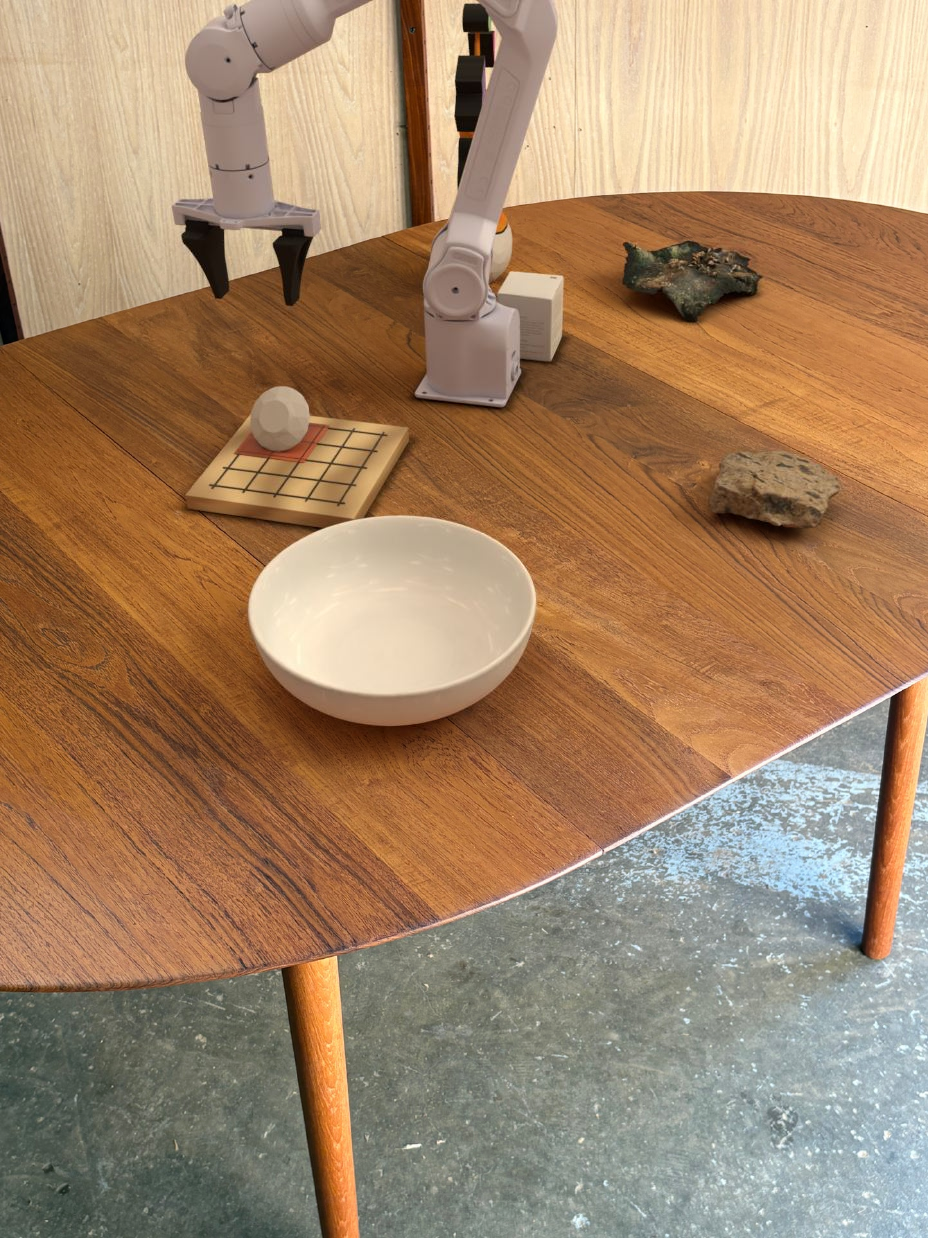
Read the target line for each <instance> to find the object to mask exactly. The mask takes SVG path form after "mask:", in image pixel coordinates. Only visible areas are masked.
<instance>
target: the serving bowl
mask: <svg viewBox="0 0 928 1238" xmlns="http://www.w3.org/2000/svg"><path fill="white" fill-rule="evenodd" d="M536 591H537V590H536V588H535V585H534V581H533V578H532V576H531V574H530V572H529V570H527V567H526V566H525V565H524V564H523V562H522V561H521V560H520V559H519V558H518V557H517V555H516V554H515V553H514V552H513V551H512V550H510V549H509V548H508V547H506V546H505V545H504V544H503V543H501V542H500V541H498V540H496V539H495V538H493V537H492V536H490V535H488V534H486V533H484V532H482V531H479V530H477V529H474V528H472V527H470V526H468V525H464V524H461V523H457V522H454V521H450V520H445V519H440V518H436V517H429V516H418V515H382V516H371V517H364V518H363V519H357V520H352V521H348V522H344V523H340V524H336V525H333V526H330V527H327V528H320V529H319V530H316V531H314V532H311V533H310V534H307V535H306V536H304V537H302V538H300V539H299V540H297V541H295V542H293V543H292V544H290V545H289V546H287V547H286V548H284V549H283V550H282V551H280V552H279V553H278V554H277V555H276V556H275V557H273V559H271V560H270V561H269V562H268V563H267V565H265V567H263V569H262V571H261V572H260V573H259V575H258V576H257V577H256V580H255V581H254V583H253V586H252V588H251V590H250V594H249V597H248V602H247V619H248V625H249V629H250V633H251V637H252V638H253V641H254V644H255V647H256V649H257V651H258V653H259V656H260V658H261V659H262V661H263V662H264V664H265V666H266V668H267V670H268V671H269V672H270V673H271V675H272V676H273V677H274V678H275V680H276V681H277V682H278V683H279V684H280V685H281V686H282V687H283V688H284V689H285V690H286V691H287V692H289V693H290V694H291V695H292V696H293V697H295V698H296V699H298V700H299V701H300V702H302V703H304V704H305V705H307V706H309V707H310V708H312V709H315V710H316V711H319V712H321V713H323V714H325V715H328V716H330V717H334V718H335V719H339V720H343V721H346V722H351V723H356V724H361V725H362V724H363V725H367V726H368V725H369V726H378V727H379V726H380V727H398V726H399V727H400V726H401V727H402V726H409V725H418V724H423V723H427V722H432V721H435V720H439V719H442V718H445V717H448V716H451V715H453V714H457V713H458V712H460V711H463V710H464V709H466V708H468V707H469V708H470V706H472V705H474V704H476V703H477V702H479V701H481V700H482V699H484V698H485V697H487V695H489V694H491V692H493V691H494V690H495V689H496V688H497V687H498V686H500V685H501V684H502V683H503V682H504V681H505V680H506V678H507V677H508V676H509V675H510V674H511V672H513V670H514V669H515V667H516V666H517V664H518V663H519V661H520V659H521V657H522V656H523V654H524V652H525V650H526V648H527V646H528V644H529V643H528V642H529V641H530V637H531V634H532V630H533V626H534V623H535V617H536V614H537V592H536Z"/></svg>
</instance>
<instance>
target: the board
mask: <svg viewBox="0 0 928 1238" xmlns="http://www.w3.org/2000/svg"><path fill="white" fill-rule="evenodd" d="M250 422H251V413H250V414H249V415H248V417H247V418H246V419H245V420H244V422H243V423H242V424H241V425H240V427H239V428H238V429H237V430H236V431H235V433H234V434H233V435H232V436H231V438H230V439H229V440H228V441H227V443H226V444H225V445H224V446H223V448H222V449H221V450H220V451H219V452H218V453H217V455H216V456H215V457H214V459H213V460H212V461H211V462H210V464H209V465H208V466H207V467H206V468H205V470H204V471H203V472H202V474H201V475H200V476H199V477H198V478H197V479H196V480H195V482H194V483H193V484H192V486H191V487H190V488H189V489H188V491H187V492H186V493H185V495H184V496H185V502H186V507H187V509H188V510H194V511H202V512H207V513H215V514H223V515H229V516H237V517H243V518H250V519H257V520H265V521H272V522H280V523H287V524H292V525H299V526H307V527H314V528H320V529H324V528H327V527H330V526H333V525H336V524H340V523H344V522H348V521H352V520H357V519H363V518H365V516H366V514H367V513H368V511H369V509H370V508H371V506H372V504H373V503H374V501H375V499H376V498H377V497H378V494H379V492H380V491H381V489H382V487H383V486H384V484H385V483H386V481H387V479H388V477H389V475H390V474H391V472H392V470H393V468H394V467H395V465H396V464H397V462H398V460H399V458H400V457H401V455H402V454H403V452H404V450H405V448H406V447H407V445H408V443H409V442H410V434H409V433H410V432H409V431H410V429H409V427H407V426H399V425H391V424H390V425H389V424H382V423H373V422H367V421H366V422H365V421H357V420H351V419H350V420H348V419H341V418H334V417H333V418H332V417H325V416H324V417H323V416H317V415H310V421H309V425H308V431H307V432H306V434H305V435H304V437H303V438H302V440H301V442H299V443H298V444H296V445H295V446H294V447H293V448H291V449H288V450H284V451H280V452H278V451H272V450H268V449H266V448H264V447H263V446H261V445H260V444H259V443H258V441H257V440H256V439H255V438H254V435H253V432H252V429H251V426H250Z"/></svg>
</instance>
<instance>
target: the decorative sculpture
mask: <svg viewBox="0 0 928 1238" xmlns="http://www.w3.org/2000/svg"><path fill="white" fill-rule="evenodd" d="M461 18H462V19H461V24H462V25H461V27H462V32H463V33H467V43H468V54H467V55H466V54H465V55H463V54H461V55H458V56H457V63H456V68H455V74H454V75H455V76H454V87H455V102H454V113H453V114H454V122H455V127H456V132H457V133H458V134H459V138H458V145H457V146H458V147H457V171H456V172H457V177H456V180H457V181H456V183H457V185H456V186H457V187H456V188H457V191H458V188H459V185H460V181H461V178H462V174H463V171H464V167H465V164H466V161H467V157H468V154H469V150H470V147H471V143H472V140H473V136H474V133H475V129H476V126H477V122H478V119H479V115H480V112H481V108H482V105H483V101H484V98H485V94H486V91H487V82H486V81H487V79H486V78H487V77H486V68H490V69H493V66H494V63H495V59H496V51H495V49H496V46H495V45H496V31H495V30H491V29H492V20H491V18H490V16H489V15H488V13H487V11H486V8H485V7H483V6H482V5H481V4H480V3H479V2H477V3H467V2H466V3H464V4H463V7H462V16H461ZM492 247H493V260H492V263H491V267H490V273H489V281H488V285H490V283H492V282H494V281H496V280H497V279H498V278H499V277H500V276H501V275H503V274H504V273H505V271H506V270H507V267H508V265H509V263H510V261H511V259H512V254H513V253H512V252H513V233H512V229H511V225H510V223H509V220H508V218H507V216H506V214H504V212H503V211H502V212H501V215H500V219H499V222H498V225H497V229H496V233H495V238H494V242H493V246H492Z"/></svg>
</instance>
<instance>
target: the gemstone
mask: <svg viewBox="0 0 928 1238" xmlns="http://www.w3.org/2000/svg"><path fill="white" fill-rule="evenodd" d="M250 414H251V422H250V426H251V429H252V432H253V435H254V438H255V439H256V440H257V441H258V443H259V444H260V445H261V446H263V447H264V448H266V449H268V450H272V451H278V452H280V451H284V450H288V449H291V448H293V447H294V446H295V445H296V444H298V443H299V442H301V440H302V438H303V437H304V435H305V434H306V432H307V431H308V425H309V421H310V416H311V414H310V406H309V404H308V402H307V401H306V399H305V397H304V395H303V394H302V393H300V392H299V391H298V390H296V389H294V388H292V387H290V386H284V385H283V386H282V385H281V386H273V387H272V388H269V389H268V390H266V391H264V392H263V393H261V395H260V396H259V397H258V398H257V399H255V401H254V404H253V406H252V409H251V411H250Z"/></svg>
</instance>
